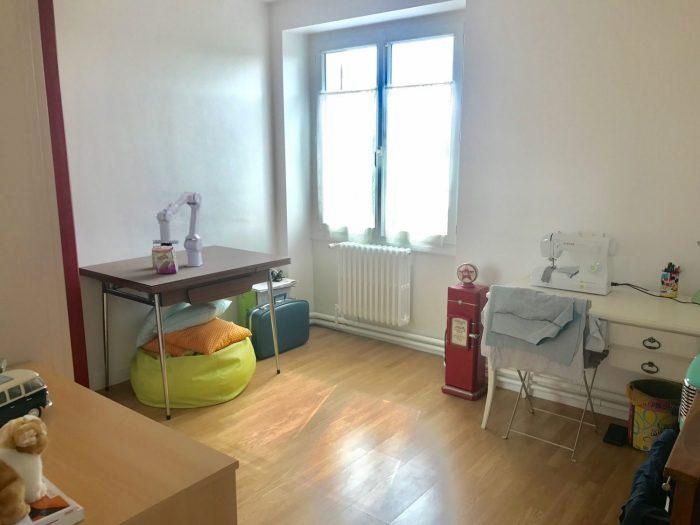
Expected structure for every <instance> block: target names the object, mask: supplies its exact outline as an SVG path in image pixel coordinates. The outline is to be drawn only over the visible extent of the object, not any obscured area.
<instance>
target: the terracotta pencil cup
mask: <svg viewBox="0 0 700 525" xmlns="http://www.w3.org/2000/svg"><path fill="white" fill-rule="evenodd" d="M151 264H152V265H151V266H152V269H153V270H156V266H155V262H154V258H153V254H152V253H151Z"/></svg>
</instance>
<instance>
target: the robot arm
mask: <svg viewBox="0 0 700 525" xmlns="http://www.w3.org/2000/svg"><path fill="white" fill-rule="evenodd" d="M202 198H203V196H202V194H200V192H198V191H196V192H195V191H184V192H183V193H181V195H180V197H179V198H178V199H177V200H176V201H175V202H174V203H169V204H168V205H167V207H166V208H164V209H163V210H161V211H159V212H158V213H157V214H156V220H157V221H158V225H159V234H160V235H159V236H160V239H153V240H152V245H159V244H160V245H159V246H173V245H179V244H180V240H179V239H172V230H171V221H172V220H173V217H174V216H175V215H176V214H178V212H179V209H180V208H181V207H182V206H184V205H185V204H186V205H187V206H188V207H190V218H189V228H188V230H189V231H188V235H186V236H185V238H184V242H183V248H184V249H185V251H186V252H187V253H186V255H187V264H186V265H185V267H200V266H201V265H203V264H204V262H203V260H202V253H201V251H202V248H203V242H202V241H203V238H202V237H201V236H199V232H200V230H199V229H200V223H201V222H200V221H201V219H200V218H201V210H202Z"/></svg>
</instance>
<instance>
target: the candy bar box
mask: <svg viewBox="0 0 700 525" xmlns="http://www.w3.org/2000/svg"><path fill="white" fill-rule="evenodd" d="M152 254H153V258H154V262H155V266H156V269H155V270H156V274H177V273H178V271H179V264H178V261H177V256H176V252H175V246H174V245H172V246H160V245H153V246H152V249H151V255H152Z"/></svg>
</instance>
